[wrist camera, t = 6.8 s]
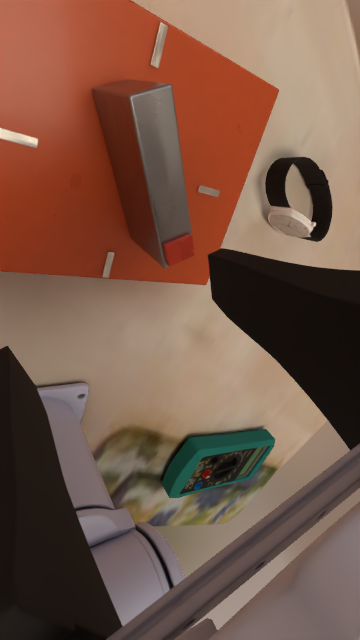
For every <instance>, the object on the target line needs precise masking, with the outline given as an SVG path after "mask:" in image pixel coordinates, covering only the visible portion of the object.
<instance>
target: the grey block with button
mask: <svg viewBox="0 0 360 640" xmlns="http://www.w3.org/2000/svg"><path fill="white" fill-rule="evenodd" d="M92 93H93V96H94V100H95V104H96V108H97V111H98V115H99V119H100V123H101V127H102V130H103V134H104V138H105V142H106V145H107V149H108V153H109V157H110V161H111V164H112V168H113V172H114V176H115V179H116V183H117V187H118V191H119V195H120V198H121V202H122V206H123V210H124V213H125V217H126V221H127V225H128V229H129V232H130V236H131V239H132V240H133V241H134V242H135V243H136V244H137V245H139V246H140V247H141V248H142V249H143V250H144V251H145V252H146V253H147V254H149V255H150V256H151V257H152V258H153V259H154V260H155V261H156V262H158V263H159V264H160V265H161V266H162V267H163V268H168V267H170V266H172V265H175V264H177V263H179V262H181V261H183V260H186V259H188V258H190V257H192V256H194V255H195V253H194V246H193V238H192V231H191V224H190V216H189V209H188V201H187V194H186V186H185V178H184V171H183V163H182V156H181V148H180V141H179V133H178V125H177V118H176V110H175V103H174V95H173V88H172V85H171V84H166V83H157V82H148V81H140V80H131V79H125V80H121V81H117V82H113V83H109V84H105V85H101V86H98V87H94V88H92Z"/></svg>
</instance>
